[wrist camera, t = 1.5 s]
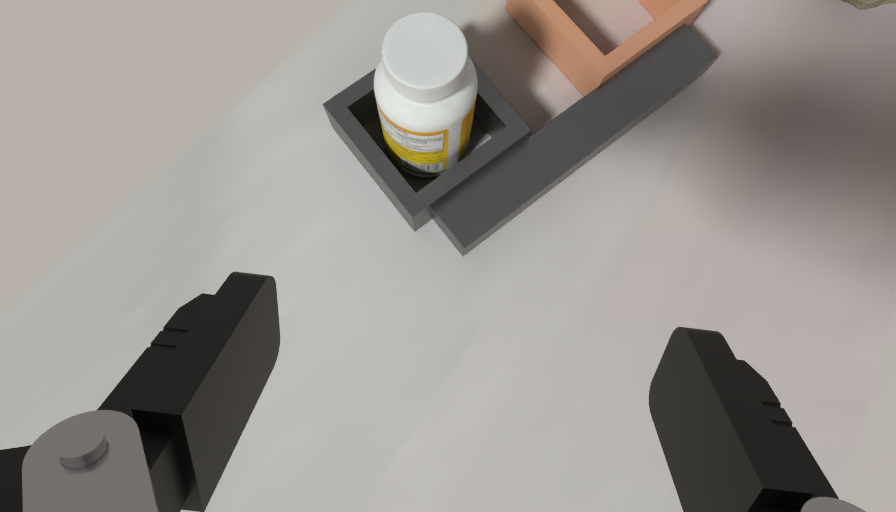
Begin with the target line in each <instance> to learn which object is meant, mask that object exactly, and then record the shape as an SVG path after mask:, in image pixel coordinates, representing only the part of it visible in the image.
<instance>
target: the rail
mask: <svg viewBox="0 0 896 512" xmlns="http://www.w3.org/2000/svg"><path fill="white" fill-rule="evenodd" d="M716 58H717V56H716V55H715V54H714V53H713V52H712V51H711V50H710V49H709V48H708V47H707V46H706V45H705V43H704V42H703V41H702V40H701V39H700V38H699V37H698V36H697V35H696V34H695V33H694V32H693V31H692V30H691V29H690V28H689V27H688V26H687V25H686V24H685V23H684V24H683V25H681V26H680V27H679V28H677V29H676V30H674V31H673V32H672V33H670V34H669V35H668V36H666V37H665V38H664V39H662V40H661V41H660V42H658V43H657V44H655V45H654V46H653V47H651V48H650V49H649V50H647V51H646V52H645V53H643V54H642V55H640V56H639V57H638V58H636V59H635V60H634V61H632V62H631V63H630V64H628V65H627V66H625V67H624V68H623V69H621V70H620V71H619V72H617V73H616V74H615V75H613V76H612V77H611V78H609V79H608V80H606V81H605V82H604V83H602V84H601V85H600V86H598V87H597V88H596V89H594V90H593V91H591V92H590V93H589V94H587V95H586V96H585V97H583V98H582V99H581V100H579V101H578V102H576V103H575V104H574V105H572V106H571V107H570V108H568V109H567V110H566V111H564V112H563V113H561V114H560V115H559V116H557V117H556V118H555V119H553V120H552V121H551V122H549V123H548V124H547V125H545V126H544V127H542V128H541V129H540V130H538V131H537V132H536V133H534V134H533V135H532V136H530V133H531V129H530V127H529V126H528V125H527V124H526V123H525V122H524V121H523V119H522V118H521V117H520V116H519V115H518V114H517V112H516V111H515V110H514V109H513V108H512V107H511V106H510V104H509V103H508V102H507V101H506V100H505V99H504V98H503V96H502V95H501V94H500V93H499V92H498V91H497V89H496V88H495V87H494V86H493V85H492V84H491V83H490V81H489V80H488V79H487V78H486V77H485V76H484V75H483V73H482V72H481V71H480V70H479V69H478V68H477V66H476V65H475V64H474V63H473V65H474V67H475V70H476V74H477V82H478V87H477V96H476V102H475V108H474V115H473V116H474V117H475V118H476V119H477V120H478V122H479V123H480V124H481V125H482V126H483V127H484V129H485V130H486V131H487V132H488V133H489V135H490V136H491V137H492V138H491V139H490V140H489V141H487V142H486V143H484V144H483V145H482V146H480V147H479V148H478V149H476V150H475V151H473V152H472V153H471V154H469V155H468V156H467V157H465V158H464V159H462V160H461V161H460V162H458V163H457V164H456V165H454V166H453V167H451V168H450V169H449V170H447V171H446V172H444V173H443V174H442V175H440V176H439V177H438V178H436V179H435V180H433V181H432V182H431V183H429V184H428V185H427V186H425V187H424V188H422V189H421V190H420V191H418V192H417V193H415V191H414V190H413V189H412V188H411V186H410V185H409V184H408V183H407V181H406V180H405V179H404V178H403V177H402V175H401V174H400V173H399V172H398V170H397V169H396V168H395V167H394V165H393V164H392V163H391V162H390V160H389V159H388V158H387V157H386V155H385V154H384V153H383V152H382V150H381V149H380V148H379V147H378V145H377V144H376V143H375V142H374V140H373V139H372V138H371V137H370V135H369V134H368V133H367V132H366V130H365V129H364V128H363V127H362V125H363V124H365V123H366V122H368V121H369V120H371V119H372V118H374V117H375V116H376V115H378V114H379V112H378V108H377V103H376V98H375V93H374V75H375V71H376V69H374V70H373V71H371V72H370V73H368V74H367V75H365V76H364V77H362V78H361V79H359V80H358V81H356V82H355V83H354V84H352V85H351V86H349V87H348V88H346V89H345V90H343V91H342V92H340V93H339V94H337V95H336V96H334V97H333V98H331V99H330V100H328V101H327V102H325V103H324V104H323V106H324V108H325V111H326V113H327V115H328V118H329V120H330V122H331V125H332V127H333V129H334V130H335V131H336V132H337V134H338V135H339V136H340V137H341V139H342V140H343V141H344V143H345V144H346V145H347V146H348V148H349V149H350V150H351V151H352V153H353V154H354V155H355V156H356V158H357V159H358V160H359V162H360V163H361V164H362V165H363V167H364V168H365V169H366V170H367V172H368V173H369V174H370V175H371V177H372V178H373V179H374V181H375V182H376V183H377V184H378V186H379V187H380V188H381V189H382V191H383V192H384V193H385V195H386V196H387V197H388V198H389V200H390V201H391V202H392V203H393V205H394V206H395V207H396V208H397V210H398V211H399V212H400V214H401V215H402V216H403V217H404V219H405V220H406V221H407V222H408V224H409V225H410V226H411V227H412V229H413V230H414V231H416V230H418V229H419V228H420V227H422V226H423V225H424V224H426V223H427V222H428V221H430V220H431V219H434V221H435V222H436V223H437V224H438V226H439V227H440V228H441V229H442V231H443V232H444V233H445V234H446V236H447V237H448V238H449V239H450V241H451V242H452V243H453V244H454V246H455V247H456V248H457V249H458V251H459V252H460V253H461V254H462V256H464V255H465V254H467V253H468V252H469V251H471V250H472V249H473V248H475V247H476V246H477V245H479V244H480V243H481V242H483V241H484V240H485V239H487V238H488V237H489V236H490V235H492V234H493V233H494V232H496V231H497V230H498V229H500V228H501V227H502V226H504V225H505V224H506V223H508V222H509V221H510V220H512V219H513V218H514V217H516V216H517V215H518V214H519V213H521V212H522V211H523V210H525V209H526V208H527V207H529V206H530V205H531V204H533V203H534V202H535V201H537V200H538V199H539V198H541V197H542V196H543V195H544V194H546V193H547V192H548V191H550V190H551V189H552V188H554V187H555V186H556V185H558V184H559V183H560V182H562V181H563V180H564V179H566V178H567V177H568V176H570V175H571V174H572V173H573V172H575V171H576V170H577V169H579V168H580V167H581V166H583V165H584V164H585V163H587V162H588V161H589V160H591V159H592V158H593V157H595V156H596V155H597V154H599V153H600V152H601V151H602V150H604V149H605V148H606V147H608V146H609V145H610V144H612V143H613V142H614V141H616V140H617V139H618V138H620V137H621V136H622V135H624V134H625V133H626V132H627V131H629V130H630V129H631V128H633V127H634V126H635V125H637V124H638V123H639V122H641V121H642V120H643V119H645V118H646V117H647V116H649V115H650V114H651V113H653V112H654V111H655V110H656V109H658V108H659V107H660V106H662V105H663V104H664V103H666V102H667V101H668V100H670V99H671V98H672V97H674V96H675V95H676V94H678V93H679V92H680V91H682V90H683V89H684V88H685V87H687V86H688V85H689V84H691V83H692V82H693V81H695V80H696V79H697V78H699V77H700V76H701V75H702V74H703V73H704V72H705V71H706V70H707V69H708V68H709V66H710V65H711V64H712V63H713V62H714V61H715V60H716ZM529 136H530V137H529Z"/></svg>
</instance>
